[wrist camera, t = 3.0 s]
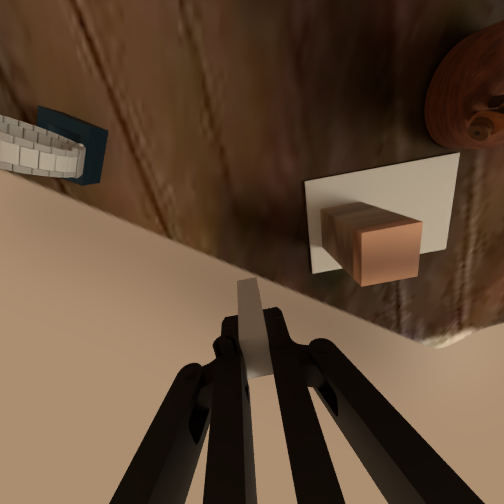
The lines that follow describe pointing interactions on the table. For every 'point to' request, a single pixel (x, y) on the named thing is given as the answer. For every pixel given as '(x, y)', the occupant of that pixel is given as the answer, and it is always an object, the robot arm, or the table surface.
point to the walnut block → (371, 242)
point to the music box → (469, 93)
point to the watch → (53, 147)
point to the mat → (388, 199)
